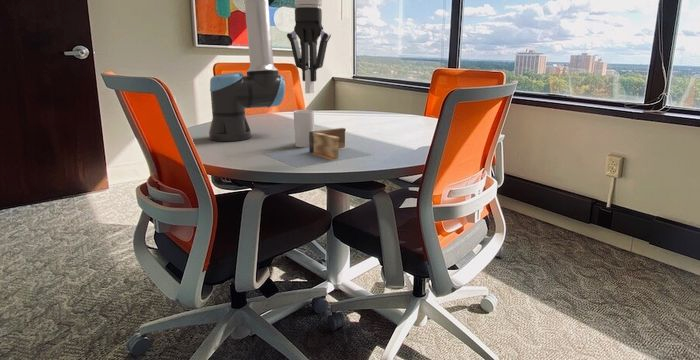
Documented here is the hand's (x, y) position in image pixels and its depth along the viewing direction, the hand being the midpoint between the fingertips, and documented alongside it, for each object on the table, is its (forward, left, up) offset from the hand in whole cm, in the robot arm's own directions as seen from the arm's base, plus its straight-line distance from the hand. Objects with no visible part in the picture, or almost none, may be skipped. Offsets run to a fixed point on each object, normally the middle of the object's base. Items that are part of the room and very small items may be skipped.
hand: (309, 92), depth 135 cm
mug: (-17, +8, -20) cm, 27 cm away
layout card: (-1, +3, -20) cm, 20 cm away
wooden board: (+2, +4, -19) cm, 19 cm away
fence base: (-5, +9, -19) cm, 22 cm away
